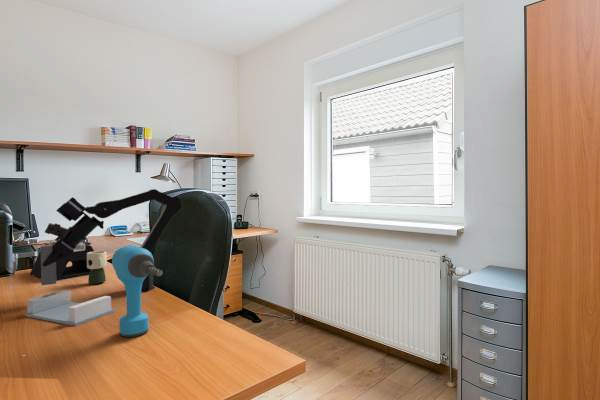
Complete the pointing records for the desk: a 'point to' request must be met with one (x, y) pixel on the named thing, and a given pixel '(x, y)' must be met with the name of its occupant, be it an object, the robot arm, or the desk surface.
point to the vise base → (63, 314)
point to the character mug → (96, 266)
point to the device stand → (62, 271)
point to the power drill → (133, 286)
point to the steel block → (50, 270)
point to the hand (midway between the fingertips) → (43, 264)
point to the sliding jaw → (48, 301)
